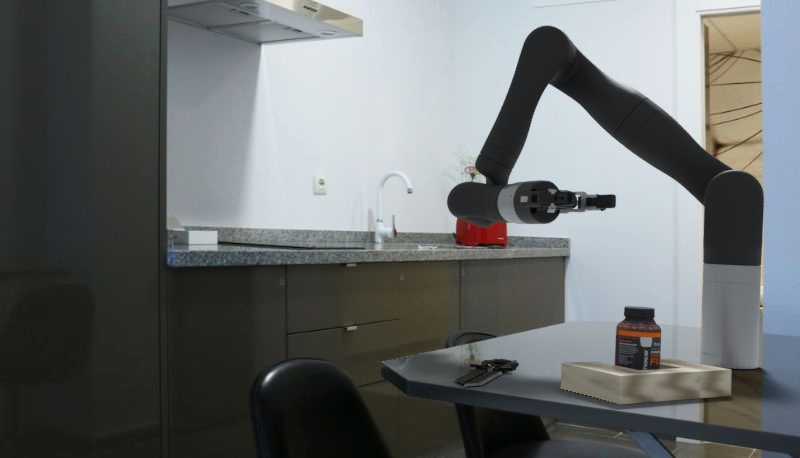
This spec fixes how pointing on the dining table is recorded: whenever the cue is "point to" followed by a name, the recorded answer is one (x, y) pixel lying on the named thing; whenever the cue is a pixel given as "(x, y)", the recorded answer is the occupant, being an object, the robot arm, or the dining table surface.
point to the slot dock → (646, 381)
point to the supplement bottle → (638, 339)
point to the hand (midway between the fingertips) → (594, 199)
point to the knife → (483, 373)
